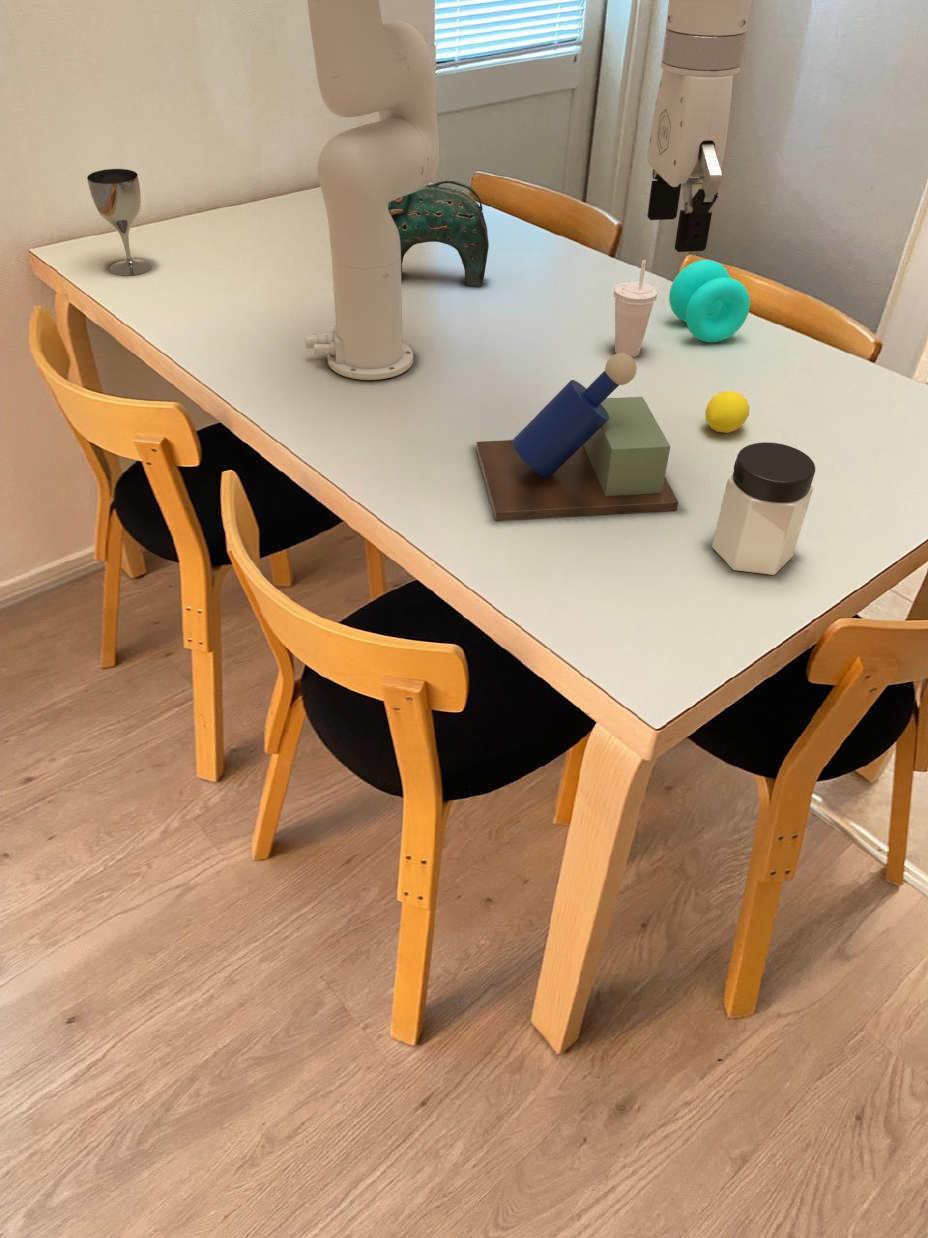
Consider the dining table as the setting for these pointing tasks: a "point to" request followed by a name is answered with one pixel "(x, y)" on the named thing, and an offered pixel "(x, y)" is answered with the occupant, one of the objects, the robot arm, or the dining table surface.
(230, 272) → the dining table surface
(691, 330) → the donuts
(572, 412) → the bottle
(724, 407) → the lemon
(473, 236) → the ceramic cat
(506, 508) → the board
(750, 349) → the dining table surface
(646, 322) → the smoothie
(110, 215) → the wine glass
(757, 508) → the jar
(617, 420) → the block
